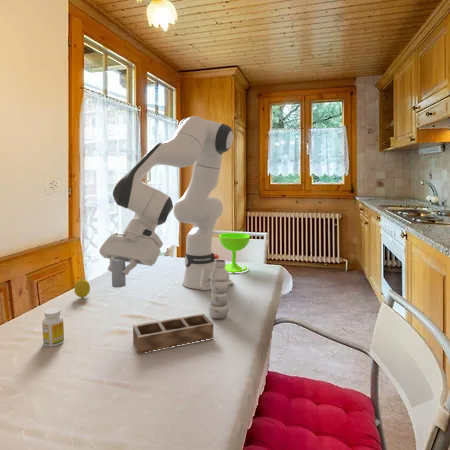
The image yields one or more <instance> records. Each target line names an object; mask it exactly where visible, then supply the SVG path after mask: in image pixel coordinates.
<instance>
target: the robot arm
mask: <svg viewBox="0 0 450 450" xmlns="http://www.w3.org/2000/svg"><path fill="white" fill-rule="evenodd" d="M233 143H234V131H233V128H232V127H231V126H229V125H228V124H225V123H220V122H217V121H213V120H210V119H203V118H202V117H200V116H197V115H193V116H190V117H184V118H183V119H182V120H181V121H180V122H179V123H178V126H177V129H176V131H175V133H174V135H173V136H172V138H171V139H168V140H167V141H164V142H161V141H160V142H157V143H156V144H155V145H153V147H151V148H150V149H149V150H148V151H147V153H145V154H144V155H143V157H141V159H140V160H139V161H138V162H137V163H136V164H135V165H134V166H133V167H132V169H130V170H129V171H128V172H127V173H126V174H125V175H124V176H123V177H122V178H120V180H118V181H117V183H116V184H115V186H114V188H113V189H112V197H113V200H114V201H115V204H116V205H117V206H120V207H122V208H124V209H127V210H130V211H132V212H133V213H134V216H133V218H132V219H130V220H129V222H128V224H127V225H126V228H125V229H124V231H123V233H121V232H115V233H113V234H111V235H110V236H109V237H107V238H106V240H105V241H104V243H102V245H101V247H100V248H99V250H98V251H99V254H100V255H101V256H102V258H104V259H109V265H108V267H107V271H109V273H110V272H111V273H112V260H113V259H125V263H128V264H127V265H125V267H123V269H122V271H121V272H122V273H123V274H125V276H127V275H129V273H130V271H132V270H133V269H134V268H135V267H137V265H143V266H149V267H152V266H154V264H156V262H157V261H158V258H159V256H160V253H161V248H162V247H163V245H164V243H163V240H161V238H160V237H159V235H158V234H157V233H156V229H157V227H158V226H160V225H163V224H165V223H166V222H167V218H168V216H169V215H170V213H171V212H172V210H173V214H174V217H175V219H176V220H177V221H178V222H180V223H184V224H190V225H191V224H193V225H192V227H191V229H190V231H188V233H187V235H186V241H185V244H186V246H185V247H186V252H185V254H184V265H185V270H184V271H185V272H184V277H183V281H182V286H184V287H185V288H190V289H194V290H195V289H197V290H201V291H209V290H210V291H211V282H210V275H211V272H212V271H213V270H214V268H215V267H214V261H215V260H219V259H220V256H219V255H218V254H217V253H216V254H215V253H213V252H212V244H213V243H212V242H213V233H214V229H215V226H216V224H217V221H218V219H219V218H220V217H221V216H222V214H223V213H224V212H223V210H224V207H223V203H222V201H221V200H220V199H219V198H217V197H215V196H210V195H211V193H212V192H213V190H215V188H216V187H217V185H218V181H219V176H220V173H221V167H222V161H223V160H222V159H223V154H224V153H226V152H228V151H229V150H230V149H231V147H232V145H233ZM192 165H193V169H192V174H191V178H190V181H189V184H188V187H187V189H186V191H185V192H184V194H183V195H182V197H181V198H179V199H178V200H177V201H176V202H175V204H174V203H173V201H172V198H171V196H169V195H168V194H166V193H164V192H163V191H161V190H159V189H157V188H155V187H153V186H152V185H150V184H148V183H146V182H144V181H143V180H142V179H143V178H144V177H145V176H146V175H147V174H148V173H149V171H150V170H152V168H154V167H155V166H170V167H174V168H188V167H189V166H192ZM173 204H174V205H173ZM232 283H233V279H232V278H230V277H229V282H228V286H231V285H230V284H232ZM233 284H234V283H233ZM233 284H232V285H233Z"/></svg>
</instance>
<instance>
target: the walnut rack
mask: <svg viewBox="0 0 450 450" xmlns="http://www.w3.org/2000/svg"><path fill="white" fill-rule="evenodd" d="M211 338H213V339H214V323H213V322H212V321H211V320H210V319H209V318H208V317H207V316H206V315H205V314H204V313H199V314H193V315H187V316H181V317H176V318H169V319H163V320H157V321H151V322H146V323H138V324H132V341H133V345H134V344H135V345H134V347H135V350H136V349H137V350H136V352H137V355H138V354H140V353H145V352H149V351H153V350H158V349H163V348H167V347H172V346H177V345H182V344H187V343H192V342H196V341H201V340H206V339H211ZM145 354H146V353H145ZM140 355H141V354H140Z"/></svg>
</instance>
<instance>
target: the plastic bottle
mask: <svg viewBox="0 0 450 450" xmlns="http://www.w3.org/2000/svg"><path fill="white" fill-rule="evenodd" d="M225 264H226V260H224V259H215V261H214V267H215V268H214V270H213V271H212V272H211V275H210V282H211V289H210V291H211V293H210V296H211V297H210V303H209V307H208V313H209V314H208V315H209V316H210V317H211V318H212V319H214V320H221V319H225V318H226V317H227V316H228V314H229V305H228V289H229V288H228V287H229V285H228V282H229V278H230V274H229V273H228V272H227V270H226V269H225V267H226V265H225Z"/></svg>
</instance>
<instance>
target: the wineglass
mask: <svg viewBox="0 0 450 450" xmlns="http://www.w3.org/2000/svg"><path fill="white" fill-rule="evenodd" d="M218 238H219V242H220V244H221V246H223V248H225V249H226V250H228V251H231V263H227V264H226V263H225V265H226V267H225V269H226V270H227V272H232V273H235V272H242V271H245V270H247V265H244V267H245V269H242V267H240V266H238V264H239V263H238V264H237V263H236V261H237V259H236V257H237V252H238V251H241V250H243V249H245V248H246V246H248V244H249V242H250V239H251V235H250V234H247V233H243V232H223V233H220V234H218Z"/></svg>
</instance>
